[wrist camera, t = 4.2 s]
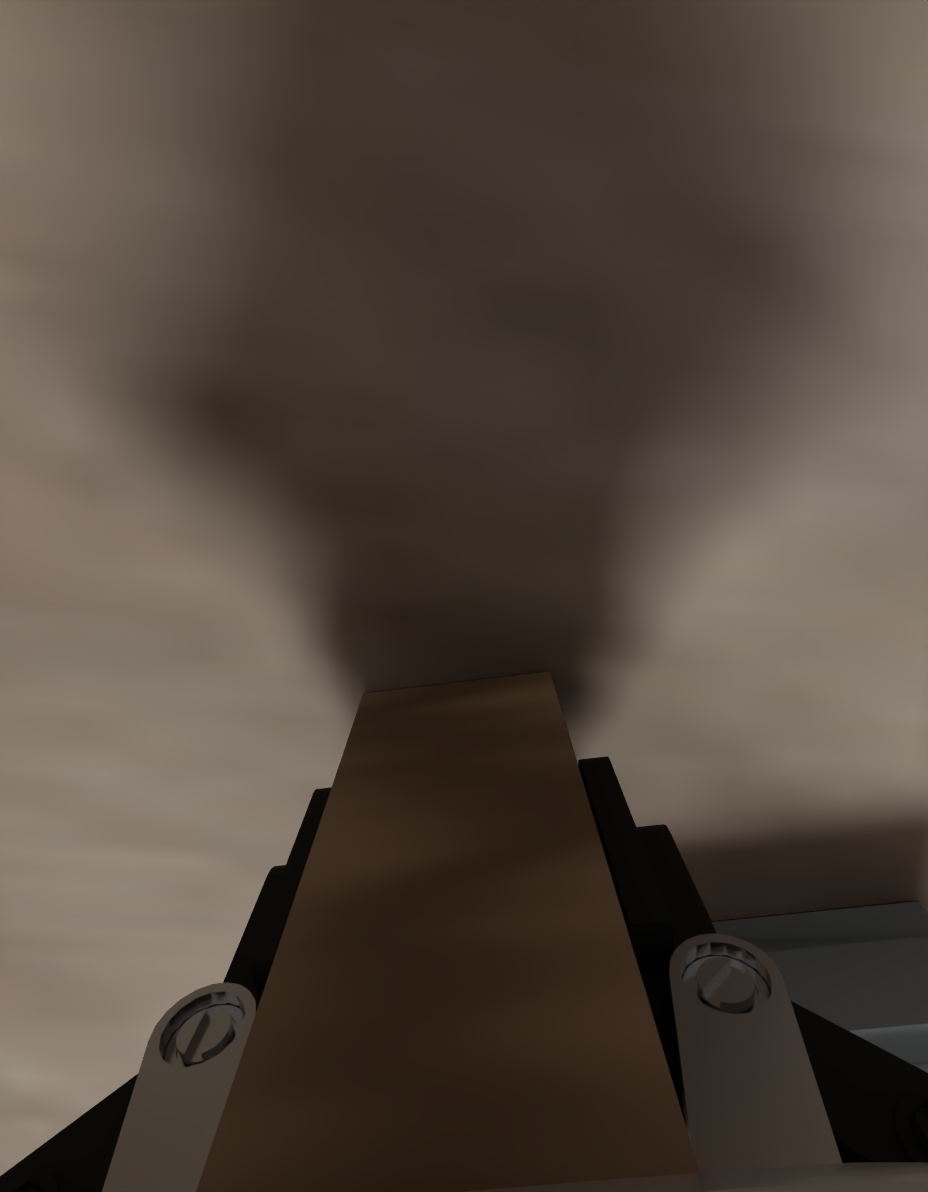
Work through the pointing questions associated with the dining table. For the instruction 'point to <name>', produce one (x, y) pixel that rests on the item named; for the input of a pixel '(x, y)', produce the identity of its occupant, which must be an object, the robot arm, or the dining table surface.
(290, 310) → the dining table surface
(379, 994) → the brown tall boxy piece
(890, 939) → the candle tray
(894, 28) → the dining table surface
